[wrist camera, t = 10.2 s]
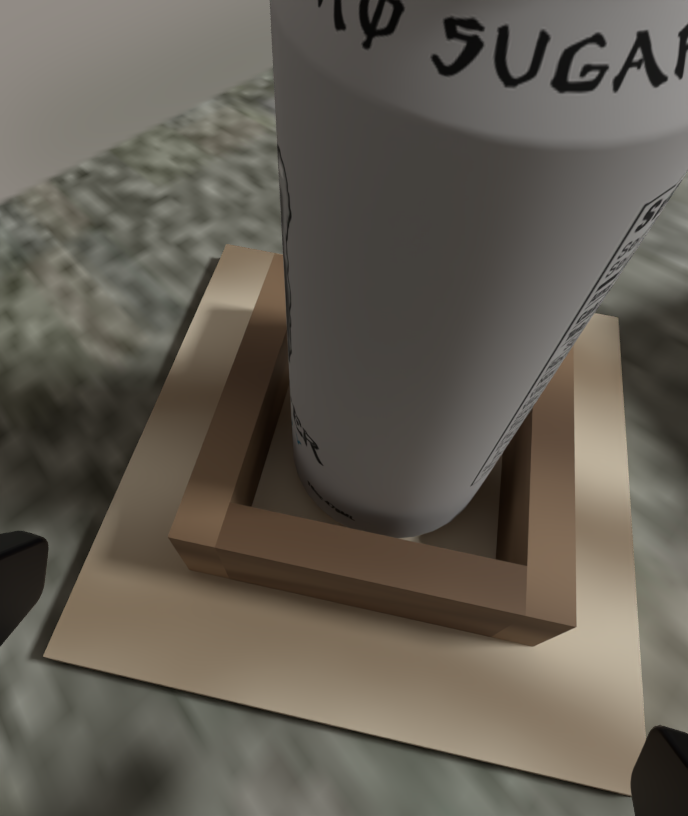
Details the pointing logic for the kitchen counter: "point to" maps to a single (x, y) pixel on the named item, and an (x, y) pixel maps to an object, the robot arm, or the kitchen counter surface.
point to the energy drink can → (456, 223)
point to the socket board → (373, 565)
